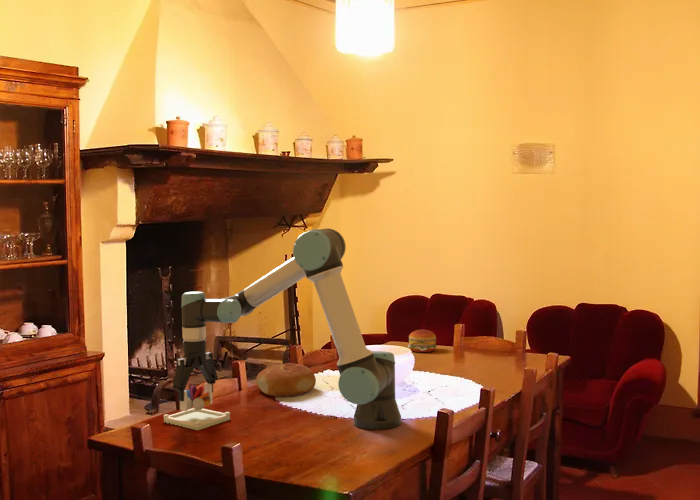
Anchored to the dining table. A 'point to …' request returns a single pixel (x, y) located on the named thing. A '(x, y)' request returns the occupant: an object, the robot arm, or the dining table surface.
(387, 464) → the dining table surface
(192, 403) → the colourful fan
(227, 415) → the white square tray
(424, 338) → the burger
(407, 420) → the dining table surface
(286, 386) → the bread
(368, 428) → the robot arm
